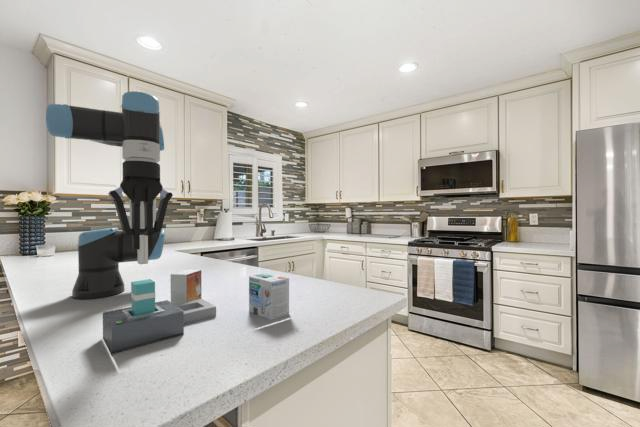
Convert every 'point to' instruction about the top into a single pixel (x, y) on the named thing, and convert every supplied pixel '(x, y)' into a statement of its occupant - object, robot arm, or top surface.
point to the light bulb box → (269, 295)
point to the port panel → (141, 326)
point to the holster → (197, 310)
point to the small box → (185, 286)
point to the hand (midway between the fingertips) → (142, 263)
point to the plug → (142, 297)
